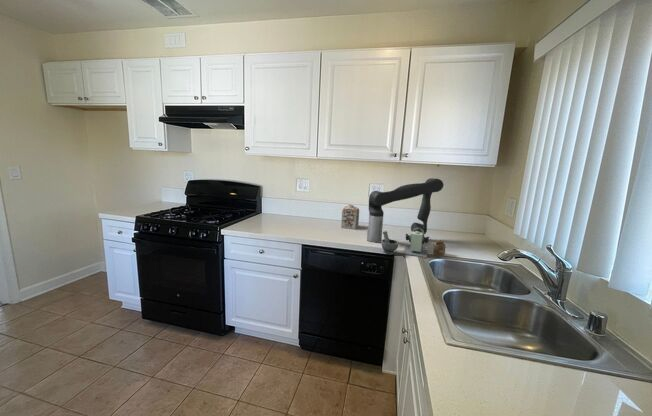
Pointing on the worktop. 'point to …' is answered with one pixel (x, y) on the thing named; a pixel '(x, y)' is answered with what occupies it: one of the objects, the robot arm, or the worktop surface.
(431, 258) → the worktop surface
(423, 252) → the grey square tile
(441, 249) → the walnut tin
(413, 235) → the pale green block
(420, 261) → the worktop surface
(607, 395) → the worktop surface
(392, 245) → the mortar and pestle
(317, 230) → the worktop surface
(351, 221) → the decorative jar
